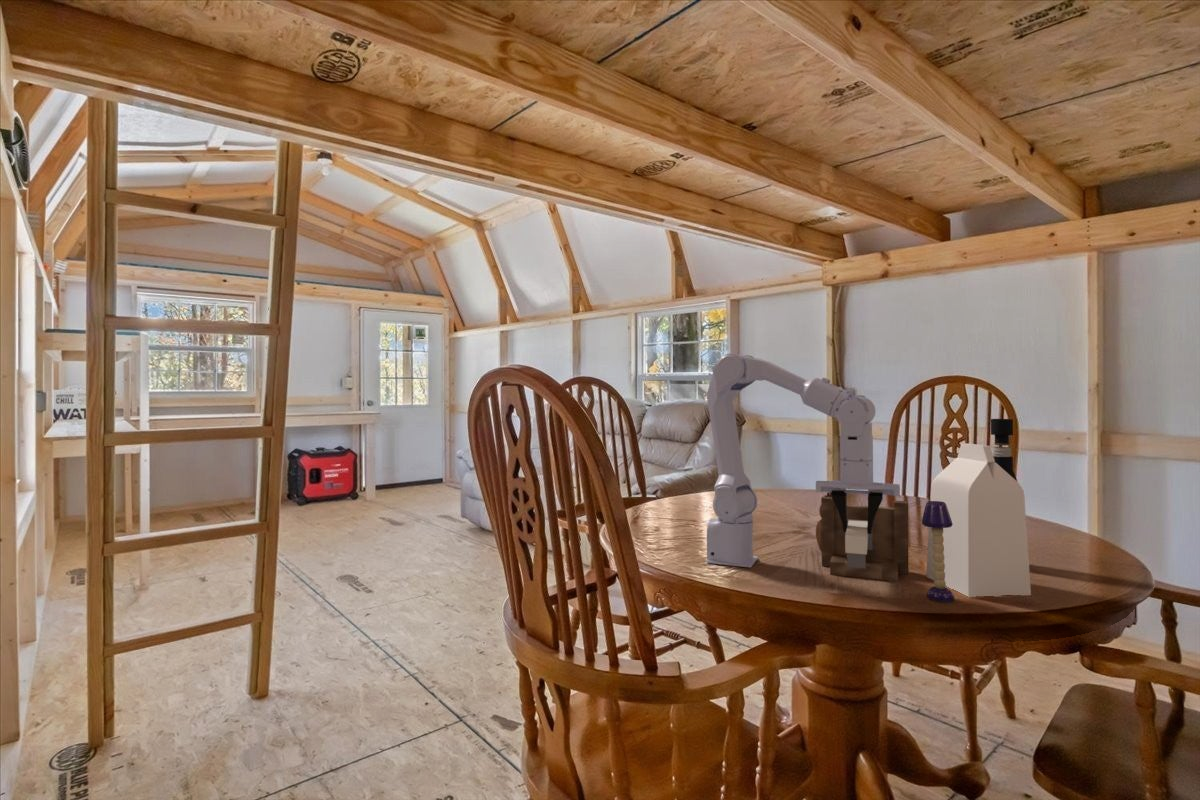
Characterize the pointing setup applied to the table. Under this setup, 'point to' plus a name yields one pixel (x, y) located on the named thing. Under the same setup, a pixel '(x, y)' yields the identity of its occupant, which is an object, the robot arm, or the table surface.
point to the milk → (982, 526)
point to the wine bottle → (1003, 454)
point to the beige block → (857, 543)
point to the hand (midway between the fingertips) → (857, 531)
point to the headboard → (886, 541)
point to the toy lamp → (938, 548)
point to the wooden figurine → (818, 527)
